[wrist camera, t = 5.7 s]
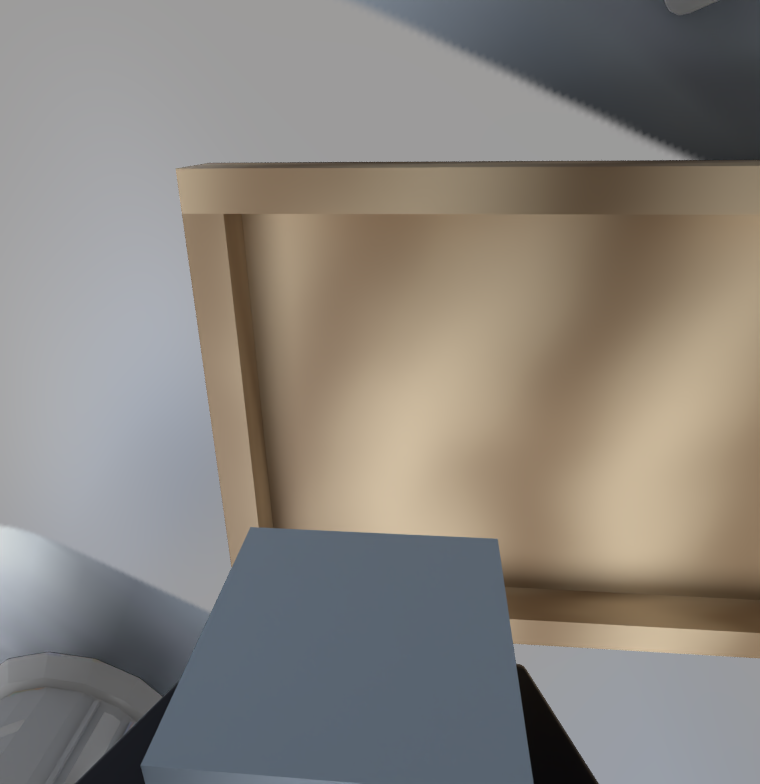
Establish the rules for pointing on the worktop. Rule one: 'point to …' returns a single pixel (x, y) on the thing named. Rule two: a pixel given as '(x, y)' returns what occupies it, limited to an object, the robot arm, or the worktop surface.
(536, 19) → the worktop surface
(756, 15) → the worktop surface
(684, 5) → the container
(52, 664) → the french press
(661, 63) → the worktop surface
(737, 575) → the tray
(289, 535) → the block
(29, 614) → the worktop surface
